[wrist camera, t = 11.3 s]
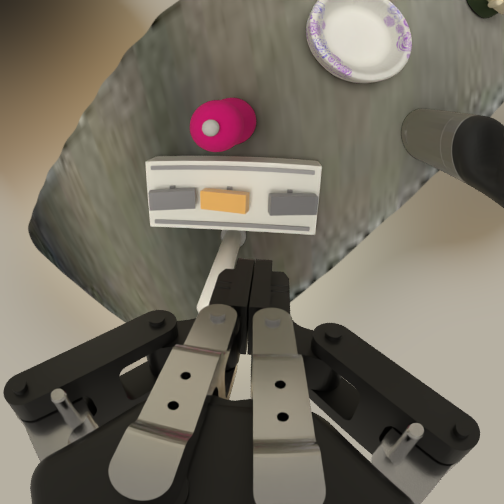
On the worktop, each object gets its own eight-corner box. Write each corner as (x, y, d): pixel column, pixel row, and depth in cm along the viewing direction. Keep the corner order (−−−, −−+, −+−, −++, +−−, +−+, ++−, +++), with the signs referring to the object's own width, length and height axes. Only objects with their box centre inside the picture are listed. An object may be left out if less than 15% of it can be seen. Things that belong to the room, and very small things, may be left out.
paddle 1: (195, 187, 47) (194, 190, 45) (195, 205, 48) (195, 208, 46) (150, 189, 46) (148, 193, 44) (151, 207, 47) (149, 210, 45)
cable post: (246, 223, 55) (227, 295, 35) (246, 246, 57) (228, 325, 37) (221, 222, 55) (189, 292, 35) (221, 245, 57) (192, 322, 37)
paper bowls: (411, 58, 39) (432, 52, 32) (344, 101, 44) (356, 101, 37) (355, -13, 34) (367, -29, 27) (284, 29, 39) (285, 16, 32)
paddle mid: (249, 192, 45) (245, 195, 43) (249, 210, 46) (245, 214, 45) (205, 187, 47) (200, 190, 45) (205, 205, 48) (200, 208, 46)
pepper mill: (248, 148, 49) (230, 173, 31) (207, 133, 48) (165, 151, 30) (264, 107, 46) (256, 106, 28) (221, 92, 45) (187, 84, 27)
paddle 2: (314, 193, 46) (318, 196, 44) (312, 211, 47) (316, 215, 45) (268, 193, 45) (271, 196, 43) (267, 211, 46) (270, 215, 44)
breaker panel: (317, 160, 49) (322, 167, 44) (311, 223, 54) (315, 236, 49) (156, 156, 50) (144, 162, 45) (160, 216, 55) (149, 227, 50)
